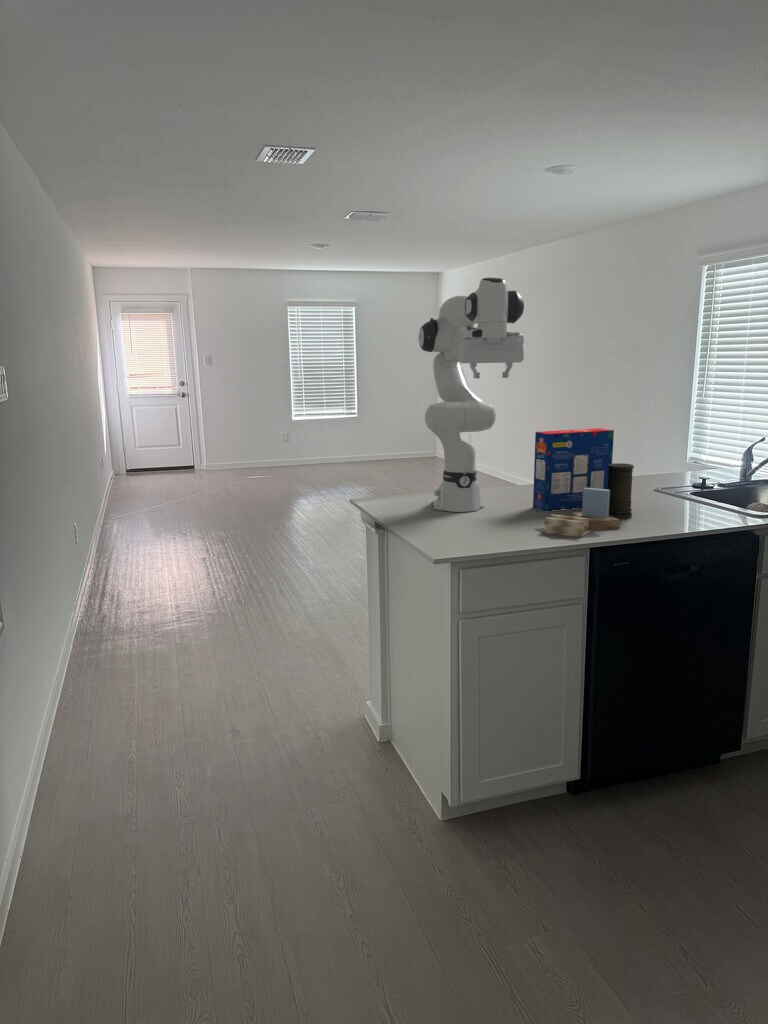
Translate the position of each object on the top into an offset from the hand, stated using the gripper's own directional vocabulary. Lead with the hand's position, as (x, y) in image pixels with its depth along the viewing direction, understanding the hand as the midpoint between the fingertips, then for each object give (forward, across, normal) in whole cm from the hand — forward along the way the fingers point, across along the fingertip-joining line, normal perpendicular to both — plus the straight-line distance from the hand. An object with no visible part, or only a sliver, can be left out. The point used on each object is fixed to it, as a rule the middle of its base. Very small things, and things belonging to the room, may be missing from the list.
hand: (491, 378), depth 220 cm
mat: (+48, -21, +13) cm, 54 cm away
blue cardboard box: (+48, -41, -24) cm, 68 cm away
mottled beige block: (+48, -21, +13) cm, 54 cm away
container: (+48, -49, -5) cm, 69 cm away
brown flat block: (+48, -35, +5) cm, 60 cm away
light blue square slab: (+45, -35, +5) cm, 57 cm away
